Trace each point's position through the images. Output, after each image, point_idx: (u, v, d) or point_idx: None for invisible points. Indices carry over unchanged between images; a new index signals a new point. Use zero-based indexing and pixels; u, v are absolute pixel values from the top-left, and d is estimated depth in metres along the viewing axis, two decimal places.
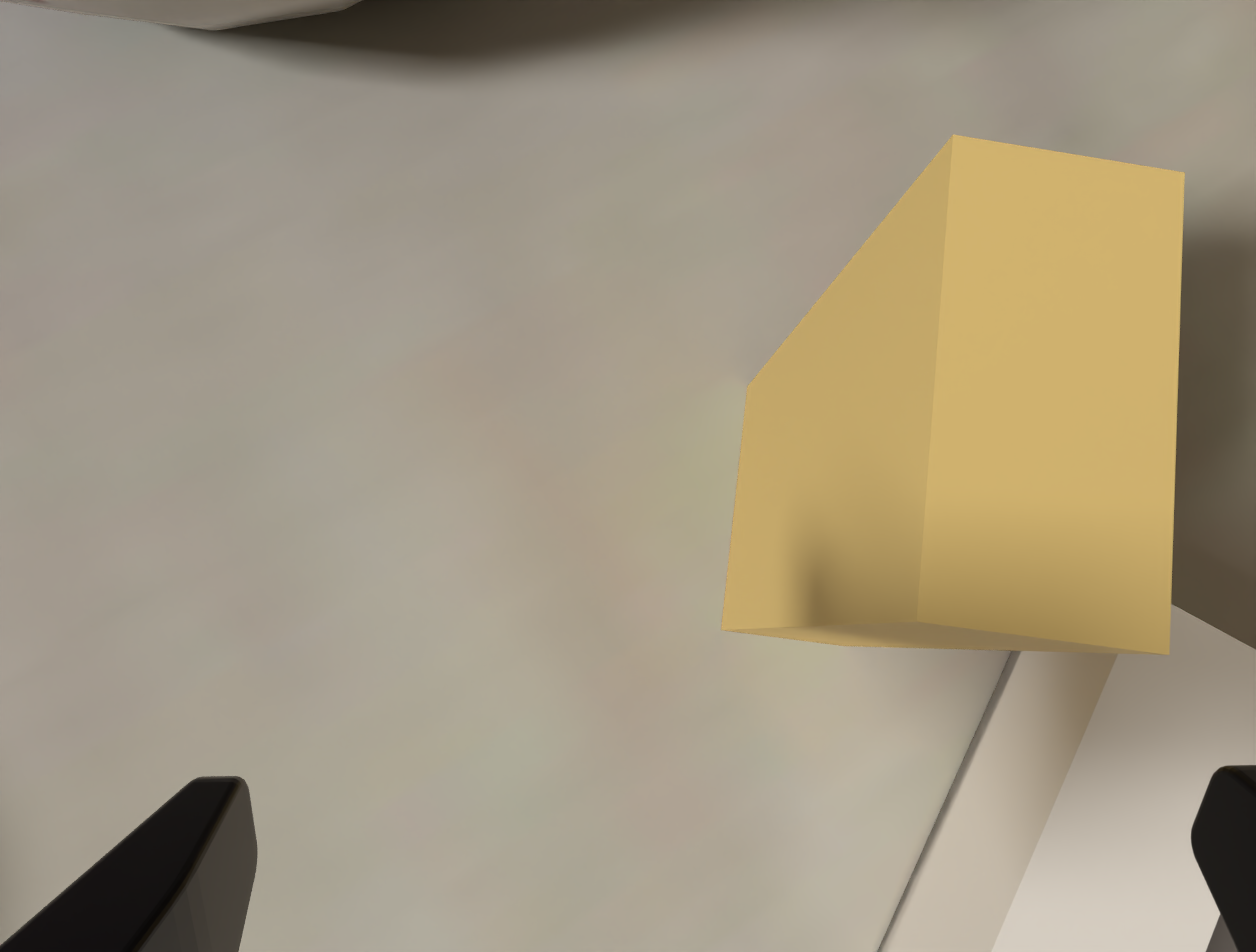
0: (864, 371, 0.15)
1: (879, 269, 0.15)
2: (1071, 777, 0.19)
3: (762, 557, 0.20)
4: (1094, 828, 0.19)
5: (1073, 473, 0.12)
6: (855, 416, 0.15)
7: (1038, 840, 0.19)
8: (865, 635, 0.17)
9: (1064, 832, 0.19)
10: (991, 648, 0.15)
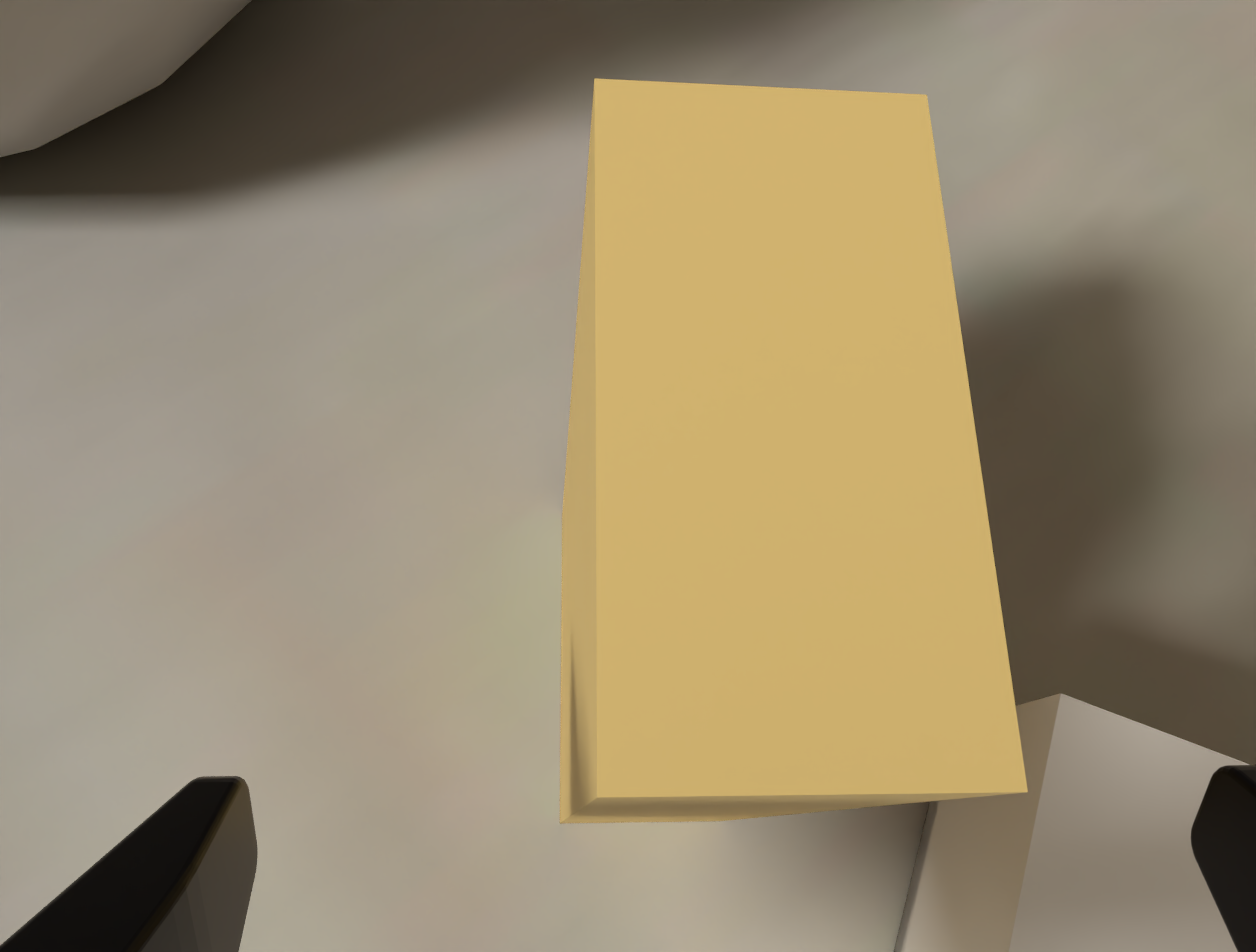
0: (580, 440, 0.11)
1: (582, 303, 0.11)
2: None
3: (565, 721, 0.15)
4: None
5: (828, 522, 0.07)
6: (579, 504, 0.11)
7: None
8: (669, 813, 0.12)
9: None
10: (831, 808, 0.11)
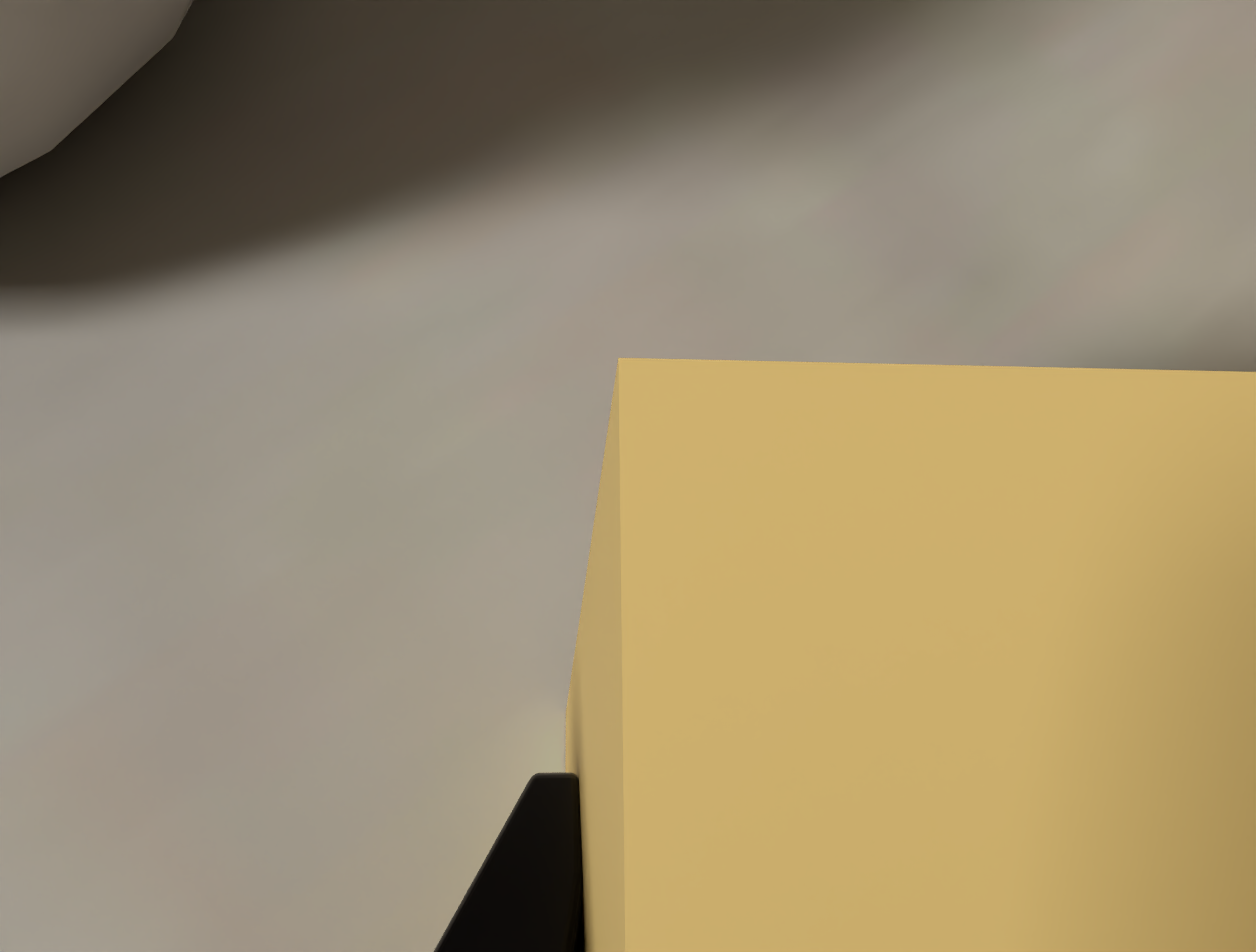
0: (591, 912, 0.06)
1: (592, 653, 0.06)
2: None
3: None
4: None
5: None
6: None
7: None
8: None
9: None
10: None
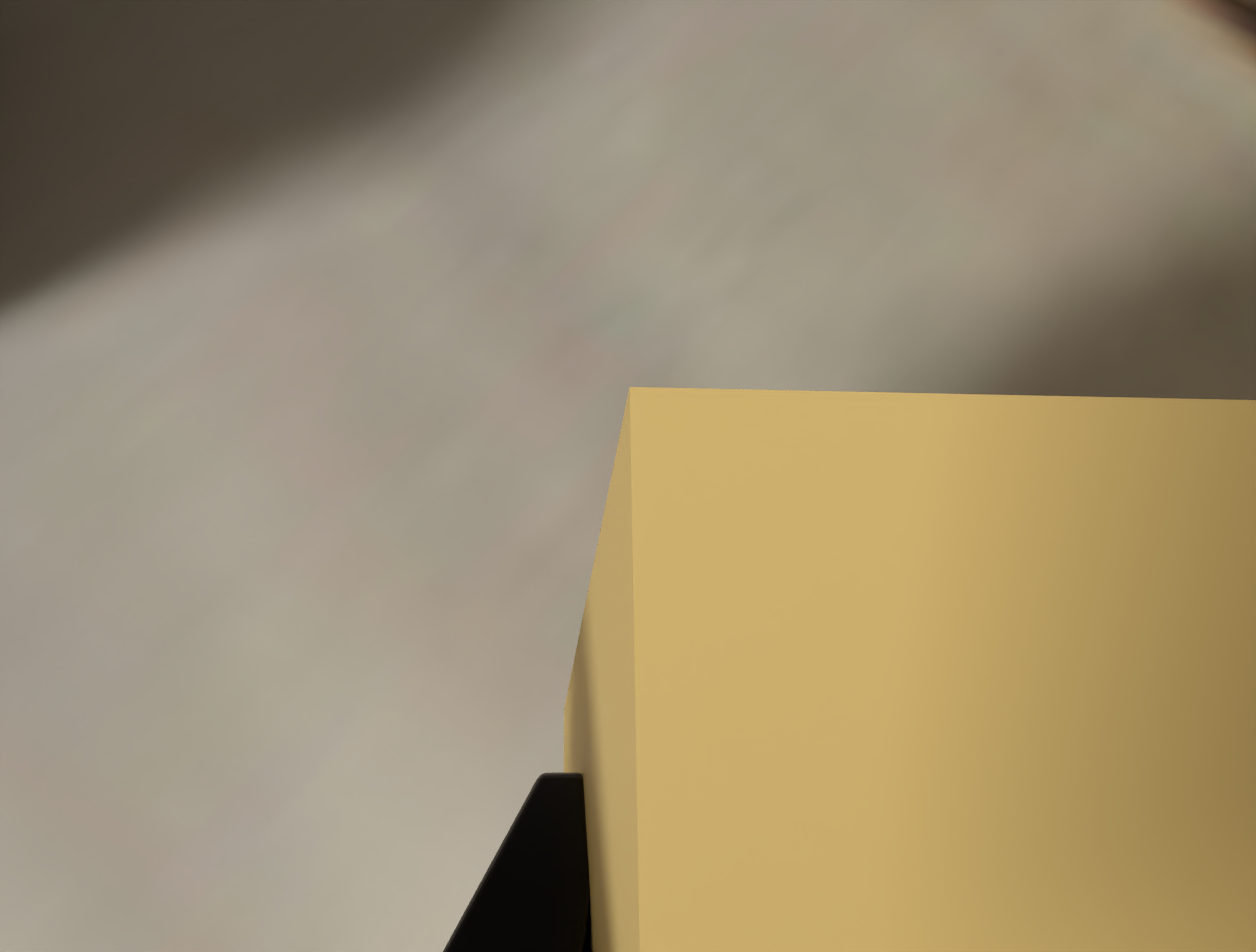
0: (597, 904, 0.06)
1: (598, 659, 0.07)
2: None
3: None
4: None
5: None
6: None
7: None
8: None
9: None
10: None
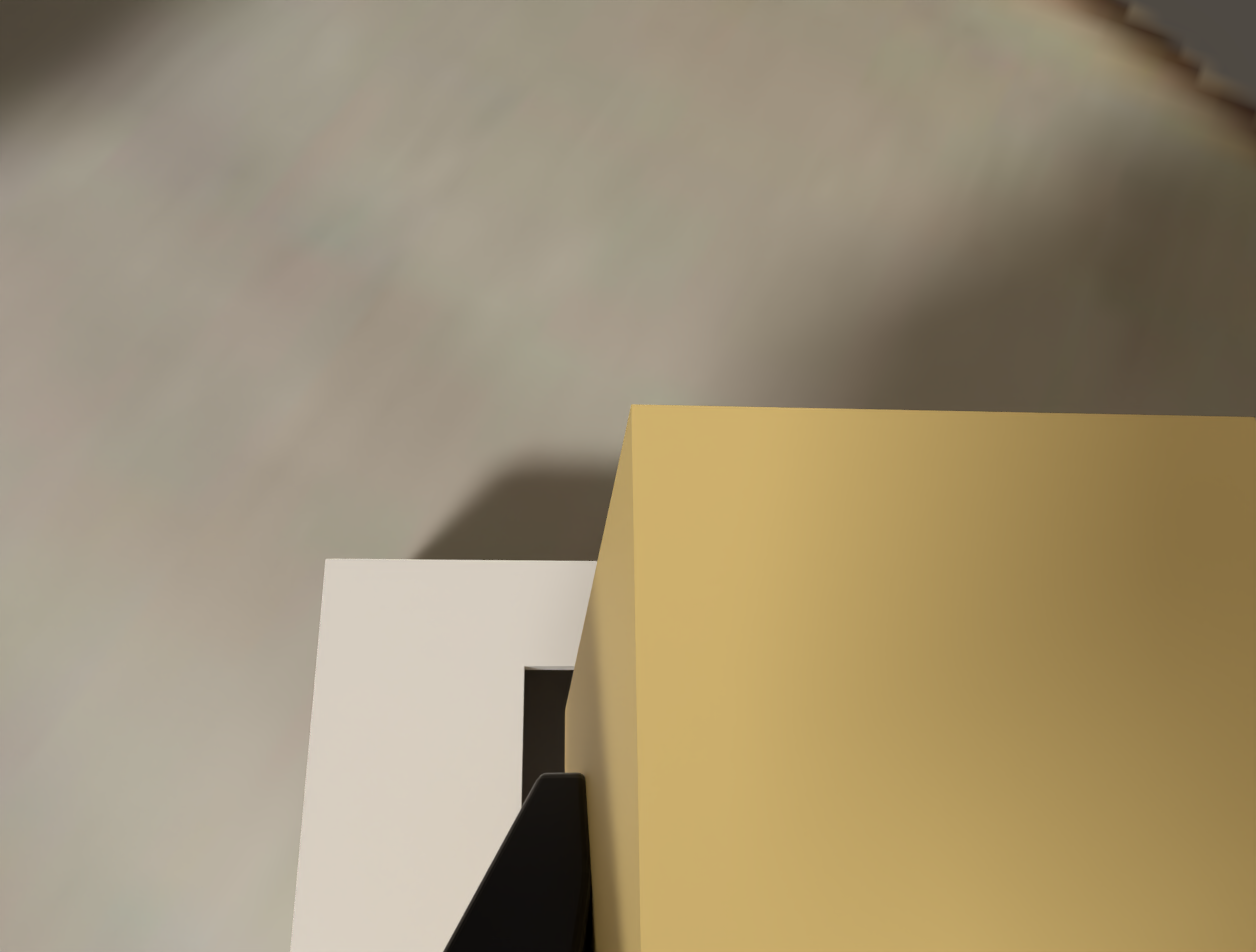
0: (600, 904, 0.06)
1: (601, 664, 0.07)
2: (311, 783, 0.17)
3: None
4: (355, 822, 0.17)
5: None
6: None
7: (298, 867, 0.17)
8: None
9: (323, 843, 0.17)
10: None
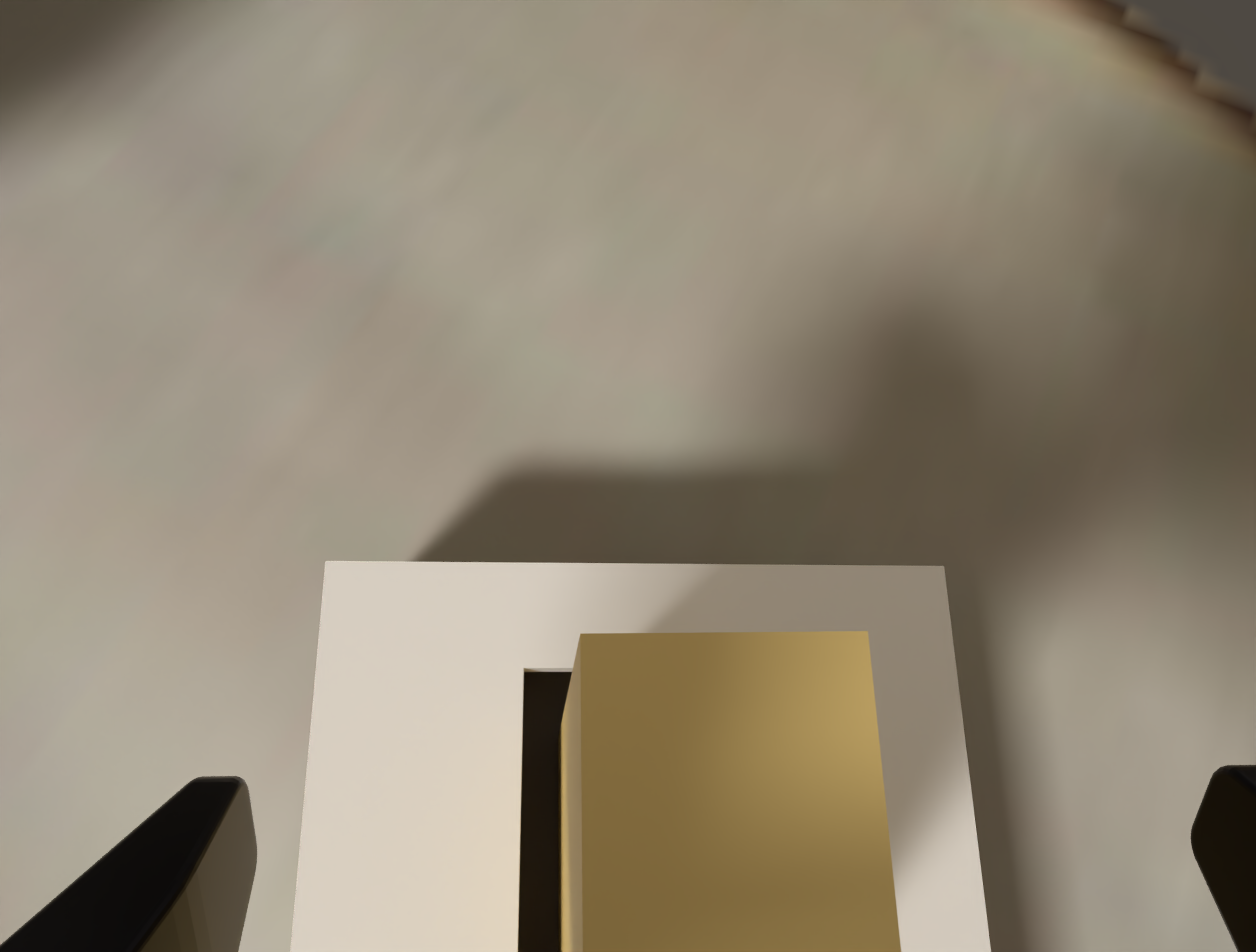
0: (572, 864, 0.12)
1: (572, 734, 0.12)
2: (311, 785, 0.17)
3: None
4: (354, 824, 0.17)
5: None
6: (571, 917, 0.12)
7: (298, 868, 0.17)
8: None
9: (323, 845, 0.17)
10: None
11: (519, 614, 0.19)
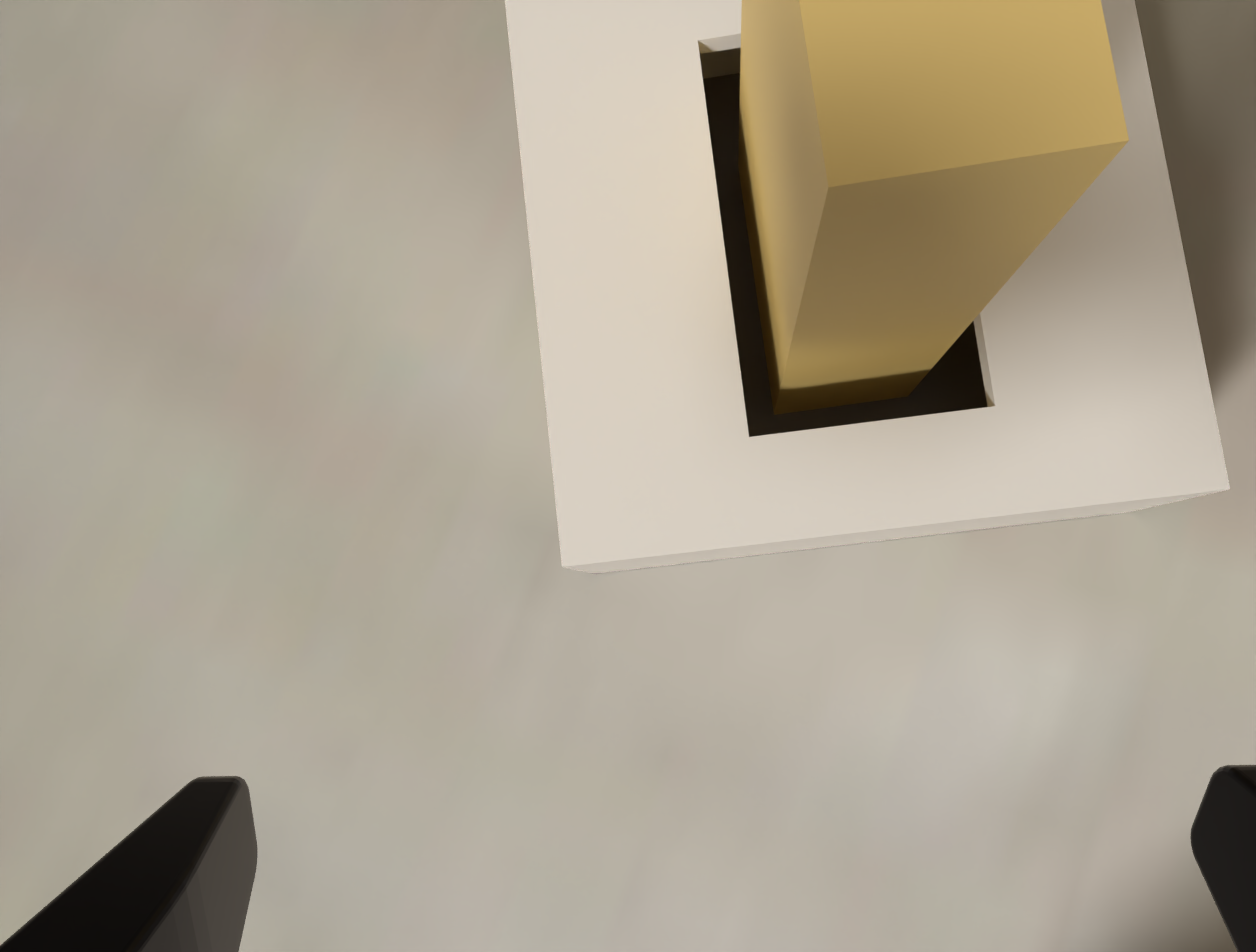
0: (767, 14, 0.13)
1: None
2: (526, 165, 0.20)
3: (772, 304, 0.19)
4: (569, 190, 0.19)
5: None
6: (773, 67, 0.14)
7: (528, 231, 0.19)
8: (868, 316, 0.15)
9: (546, 210, 0.19)
10: (995, 275, 0.14)
11: None
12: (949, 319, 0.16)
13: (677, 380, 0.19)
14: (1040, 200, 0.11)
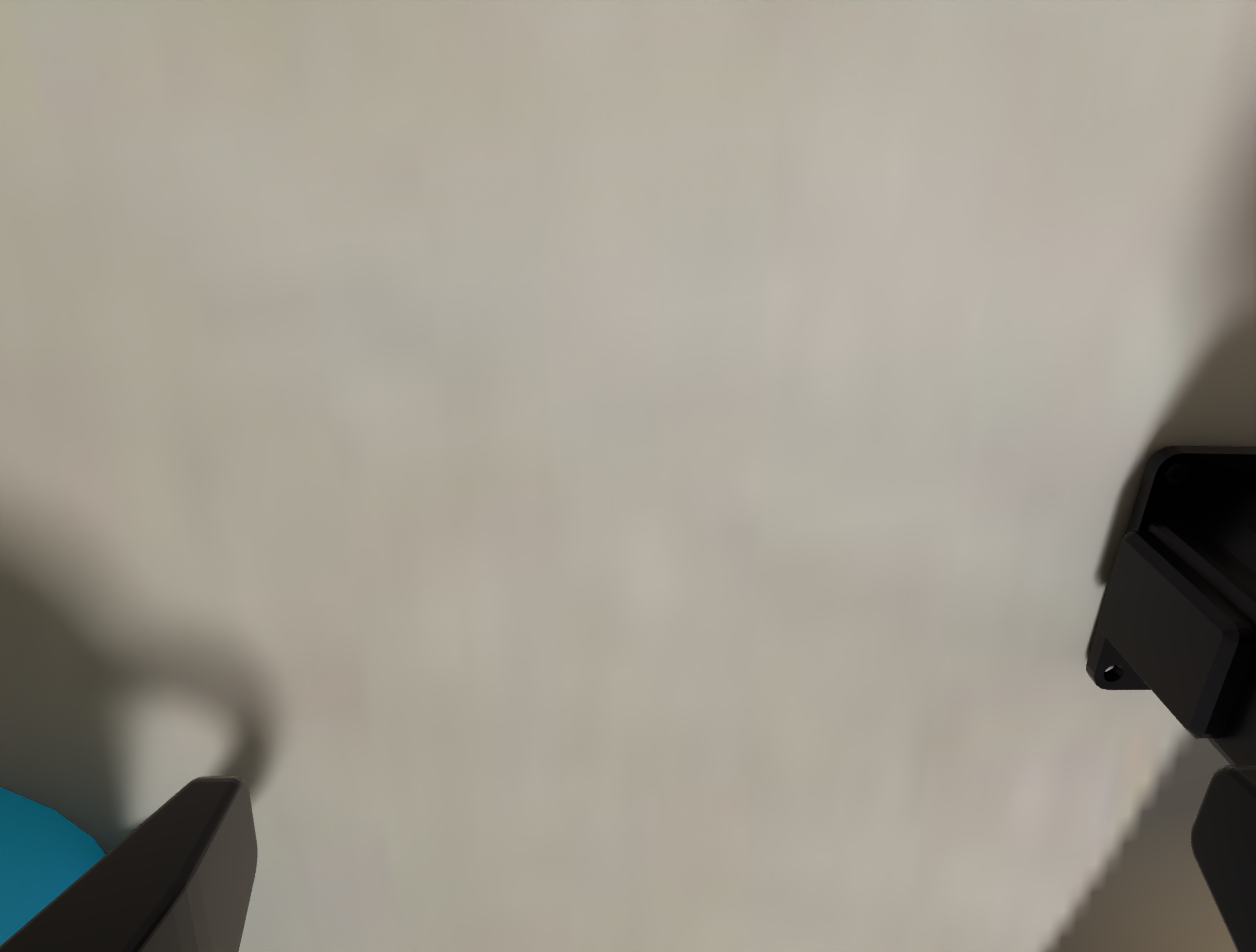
0: None
1: None
2: None
3: None
4: None
5: None
6: None
7: None
8: None
9: None
10: None
11: None
12: None
13: None
14: None
